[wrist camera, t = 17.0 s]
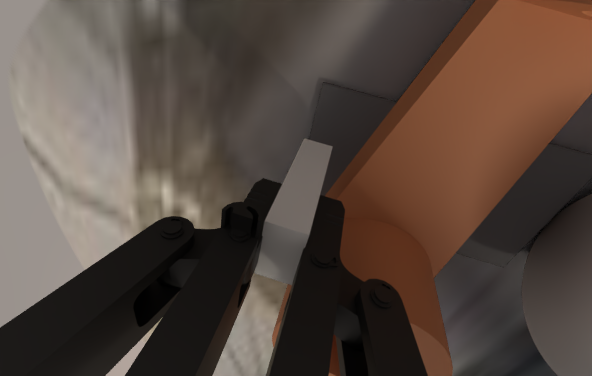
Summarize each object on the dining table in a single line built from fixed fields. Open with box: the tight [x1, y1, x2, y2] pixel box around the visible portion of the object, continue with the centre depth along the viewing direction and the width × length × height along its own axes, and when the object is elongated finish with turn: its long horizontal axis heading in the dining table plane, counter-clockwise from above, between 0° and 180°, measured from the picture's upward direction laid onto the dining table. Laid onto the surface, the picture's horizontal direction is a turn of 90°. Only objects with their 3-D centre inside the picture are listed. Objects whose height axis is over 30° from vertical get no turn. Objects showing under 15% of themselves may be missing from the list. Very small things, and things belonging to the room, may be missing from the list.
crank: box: [272, 0, 592, 376], centre depth 13 cm, size 20×8×8 cm
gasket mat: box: [309, 82, 592, 267], centre depth 16 cm, size 14×8×1 cm, turn 79°
